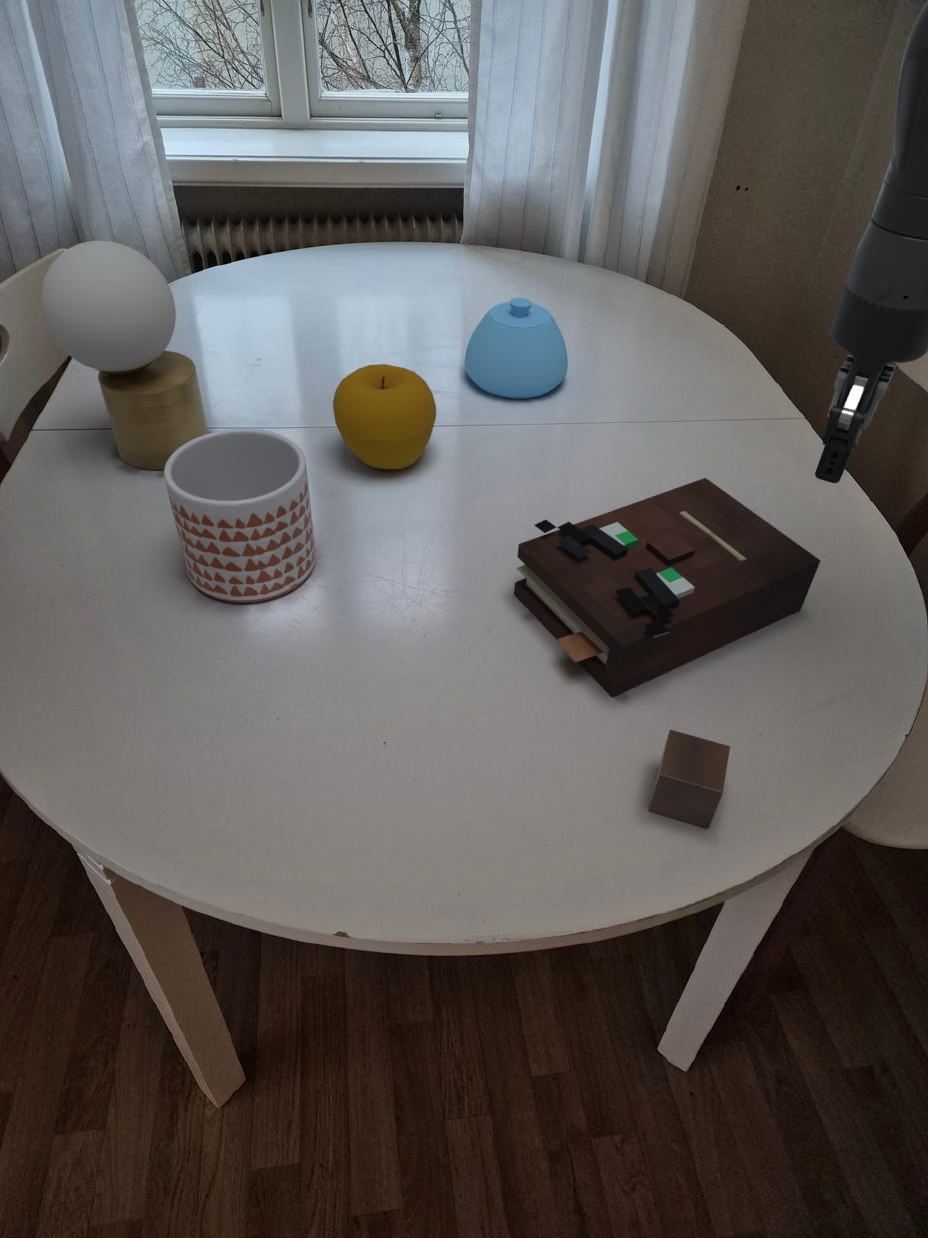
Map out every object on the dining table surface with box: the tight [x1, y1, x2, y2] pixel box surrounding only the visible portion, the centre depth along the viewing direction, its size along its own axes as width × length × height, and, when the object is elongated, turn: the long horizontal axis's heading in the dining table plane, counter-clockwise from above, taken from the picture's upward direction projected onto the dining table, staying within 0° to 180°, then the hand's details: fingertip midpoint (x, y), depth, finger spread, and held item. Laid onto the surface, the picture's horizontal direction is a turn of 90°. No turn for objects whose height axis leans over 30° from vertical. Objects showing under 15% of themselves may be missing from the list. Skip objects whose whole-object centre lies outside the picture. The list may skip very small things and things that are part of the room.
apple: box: [332, 363, 437, 470], centre depth 106 cm, size 13×13×11 cm
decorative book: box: [513, 477, 821, 698], centre depth 88 cm, size 19×8×30 cm
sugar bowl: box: [464, 297, 569, 400], centre depth 123 cm, size 15×15×12 cm
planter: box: [163, 428, 317, 604], centre depth 89 cm, size 14×14×13 cm
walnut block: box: [648, 729, 731, 830], centre depth 71 cm, size 5×5×5 cm
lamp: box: [40, 240, 209, 471], centre depth 102 cm, size 15×14×25 cm
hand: (827, 476), depth 78 cm, fingers closed
